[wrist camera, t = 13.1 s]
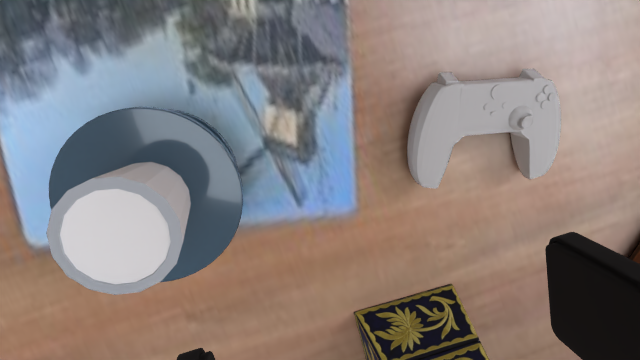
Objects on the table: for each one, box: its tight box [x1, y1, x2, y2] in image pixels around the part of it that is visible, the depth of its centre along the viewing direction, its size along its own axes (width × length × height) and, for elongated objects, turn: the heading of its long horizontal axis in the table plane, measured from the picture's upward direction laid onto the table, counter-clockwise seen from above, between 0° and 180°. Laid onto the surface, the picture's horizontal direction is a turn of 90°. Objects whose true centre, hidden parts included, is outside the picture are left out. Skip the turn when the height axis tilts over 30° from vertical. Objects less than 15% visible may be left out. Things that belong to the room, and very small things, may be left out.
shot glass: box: [46, 162, 191, 295], centre depth 24 cm, size 7×7×7 cm
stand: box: [49, 107, 243, 282], centre depth 31 cm, size 13×13×6 cm
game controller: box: [407, 69, 561, 188], centre depth 35 cm, size 14×4×10 cm
